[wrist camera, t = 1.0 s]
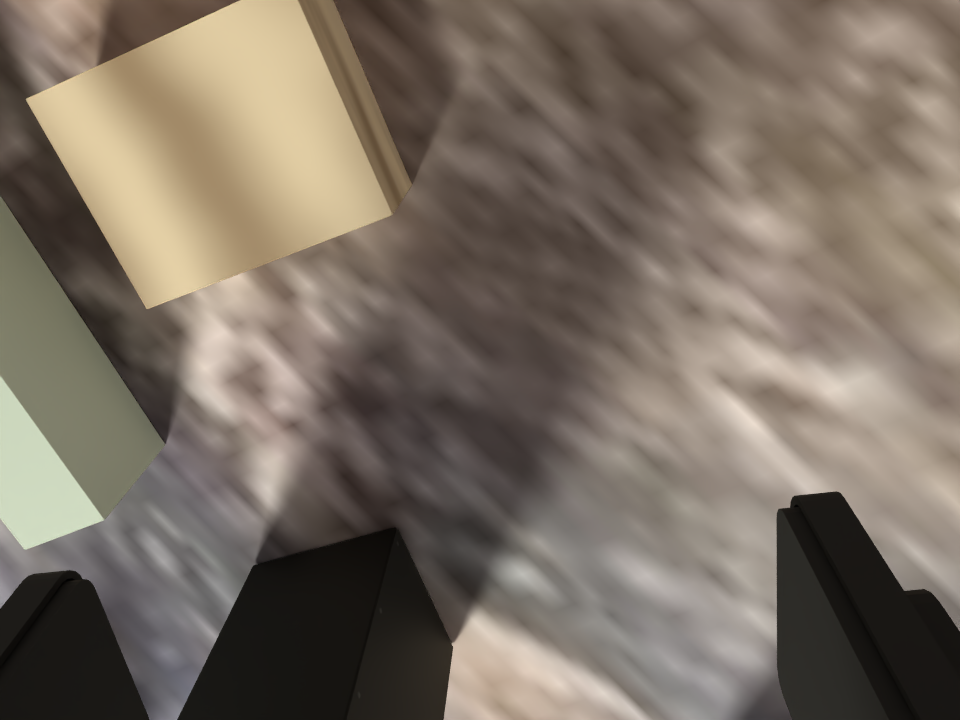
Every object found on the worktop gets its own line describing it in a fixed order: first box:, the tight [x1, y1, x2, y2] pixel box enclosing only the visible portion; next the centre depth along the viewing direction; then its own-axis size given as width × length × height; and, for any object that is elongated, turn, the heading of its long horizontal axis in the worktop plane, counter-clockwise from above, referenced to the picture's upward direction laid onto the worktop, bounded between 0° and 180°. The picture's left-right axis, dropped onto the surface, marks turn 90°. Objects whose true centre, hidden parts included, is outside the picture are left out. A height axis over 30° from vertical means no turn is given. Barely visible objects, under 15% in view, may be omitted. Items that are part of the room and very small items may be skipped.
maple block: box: [26, 0, 412, 309], centre depth 31 cm, size 10×8×5 cm
